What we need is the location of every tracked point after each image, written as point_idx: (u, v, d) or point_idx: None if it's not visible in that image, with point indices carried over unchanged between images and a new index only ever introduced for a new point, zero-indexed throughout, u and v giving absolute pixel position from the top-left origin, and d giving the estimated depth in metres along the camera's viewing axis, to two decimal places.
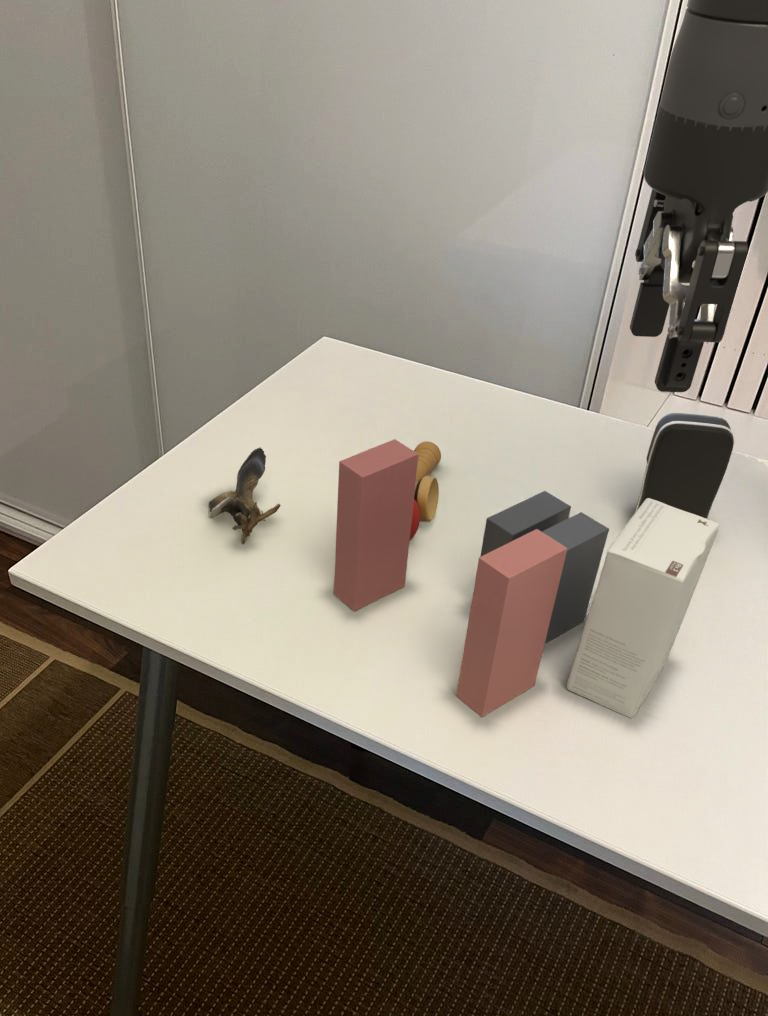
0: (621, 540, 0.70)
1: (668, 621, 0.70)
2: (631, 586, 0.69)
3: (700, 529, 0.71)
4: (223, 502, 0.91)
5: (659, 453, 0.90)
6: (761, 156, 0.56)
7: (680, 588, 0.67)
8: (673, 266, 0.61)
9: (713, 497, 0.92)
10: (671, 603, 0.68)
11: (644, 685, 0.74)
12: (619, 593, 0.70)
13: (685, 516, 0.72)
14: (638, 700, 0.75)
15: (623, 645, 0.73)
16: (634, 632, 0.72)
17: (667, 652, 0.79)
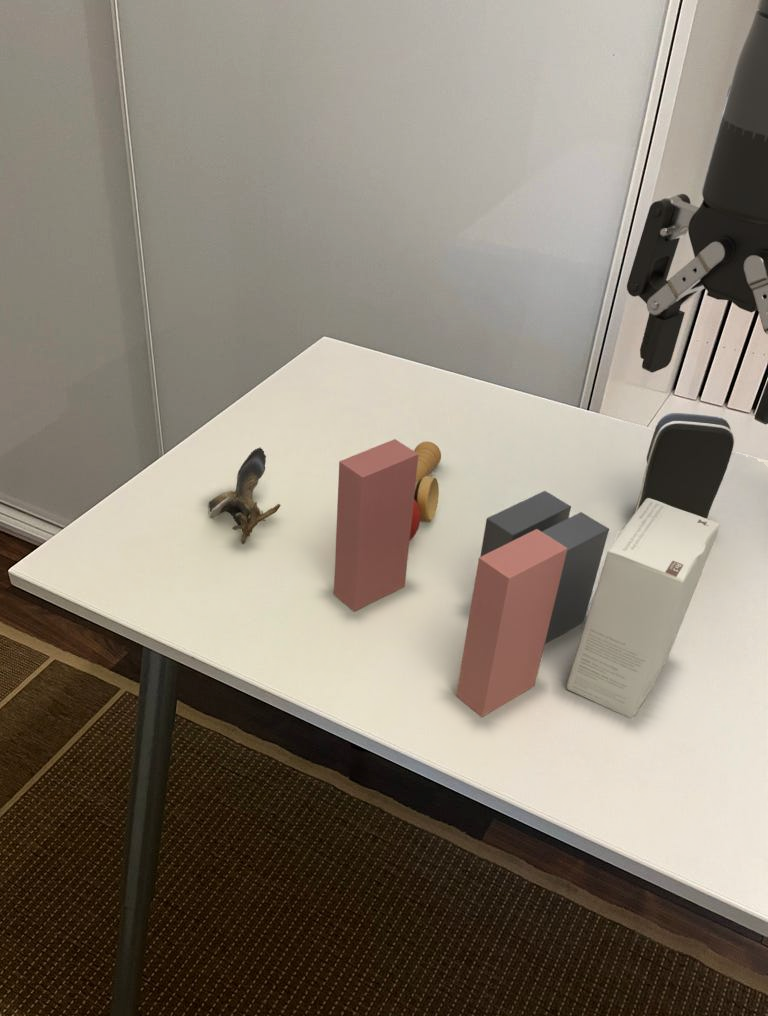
0: (621, 540, 0.70)
1: (668, 621, 0.70)
2: (631, 586, 0.69)
3: (700, 529, 0.71)
4: (223, 502, 0.91)
5: (659, 453, 0.90)
6: None
7: (680, 588, 0.67)
8: None
9: (713, 497, 0.92)
10: (671, 603, 0.68)
11: (644, 685, 0.74)
12: (619, 593, 0.70)
13: (685, 516, 0.72)
14: (638, 700, 0.75)
15: (623, 645, 0.73)
16: (635, 632, 0.72)
17: (667, 652, 0.79)
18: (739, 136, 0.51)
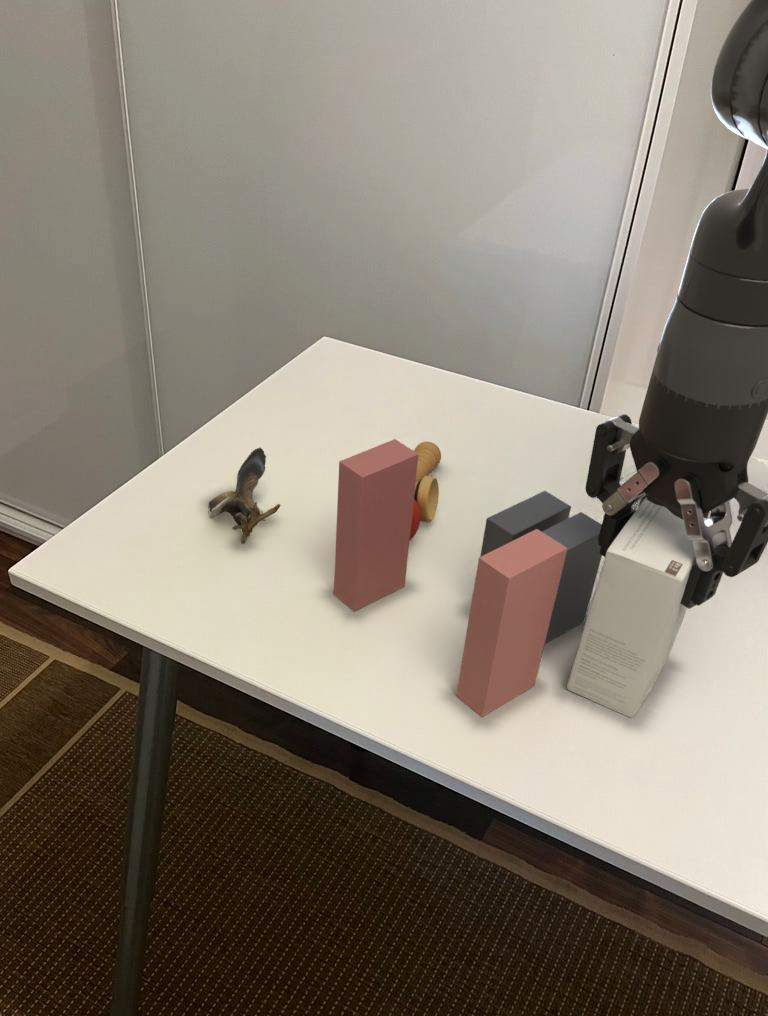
0: (620, 540, 0.70)
1: (668, 620, 0.70)
2: (630, 586, 0.69)
3: None
4: (223, 502, 0.91)
5: None
6: (767, 413, 0.62)
7: (680, 587, 0.67)
8: (699, 514, 0.65)
9: None
10: (671, 603, 0.68)
11: (644, 685, 0.74)
12: (618, 592, 0.70)
13: None
14: (638, 700, 0.75)
15: (623, 645, 0.73)
16: (634, 631, 0.72)
17: (667, 652, 0.79)
18: (665, 392, 0.61)
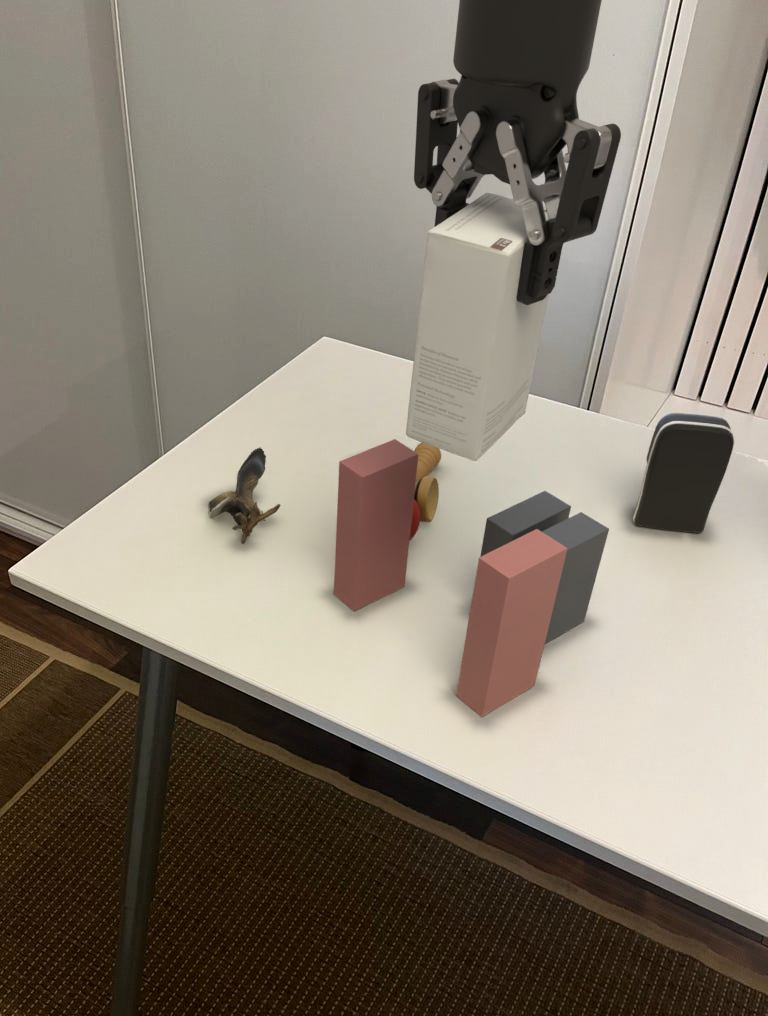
0: (445, 223, 0.60)
1: (500, 317, 0.59)
2: (456, 275, 0.59)
3: None
4: (223, 502, 0.91)
5: (659, 453, 0.90)
6: (595, 23, 0.52)
7: (507, 266, 0.57)
8: (524, 166, 0.55)
9: (713, 497, 0.92)
10: (500, 289, 0.58)
11: (484, 413, 0.64)
12: (445, 288, 0.60)
13: None
14: (480, 435, 0.65)
15: (457, 361, 0.63)
16: (466, 339, 0.61)
17: (521, 394, 0.69)
18: None
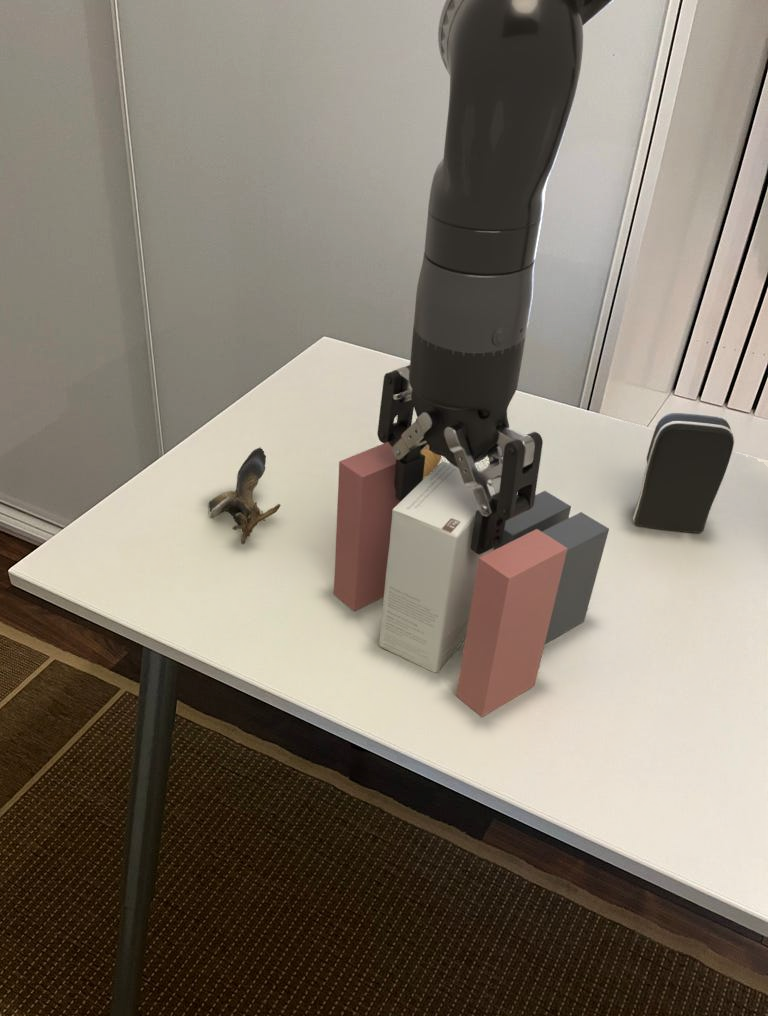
0: (407, 500, 0.74)
1: (451, 576, 0.73)
2: (415, 543, 0.73)
3: None
4: (223, 502, 0.91)
5: (659, 453, 0.90)
6: (519, 362, 0.65)
7: (456, 544, 0.71)
8: (469, 459, 0.68)
9: (713, 497, 0.92)
10: (451, 559, 0.72)
11: (442, 640, 0.78)
12: (407, 550, 0.74)
13: None
14: (439, 655, 0.79)
15: (418, 601, 0.77)
16: (425, 588, 0.75)
17: None
18: (420, 342, 0.64)
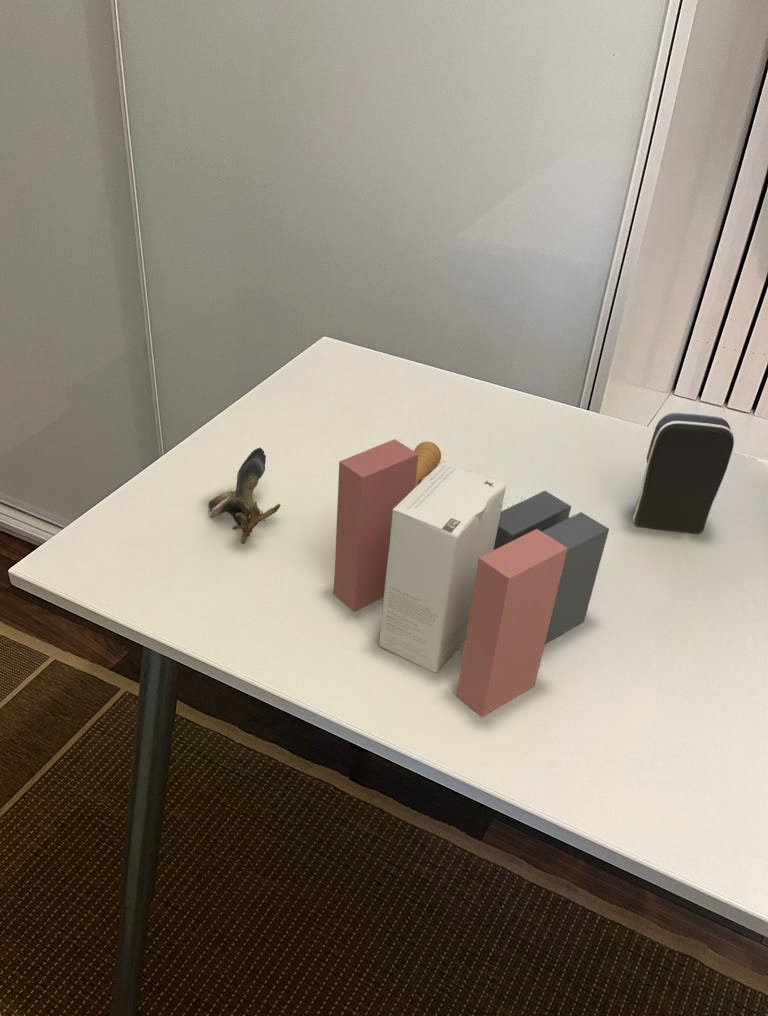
0: (407, 500, 0.74)
1: (451, 576, 0.73)
2: (415, 543, 0.73)
3: (485, 490, 0.74)
4: (223, 502, 0.91)
5: (659, 453, 0.90)
6: None
7: (456, 544, 0.71)
8: None
9: (713, 497, 0.92)
10: (451, 559, 0.72)
11: (442, 640, 0.78)
12: (407, 550, 0.74)
13: (474, 478, 0.76)
14: (439, 655, 0.79)
15: (418, 601, 0.77)
16: (425, 588, 0.75)
17: None
18: None
